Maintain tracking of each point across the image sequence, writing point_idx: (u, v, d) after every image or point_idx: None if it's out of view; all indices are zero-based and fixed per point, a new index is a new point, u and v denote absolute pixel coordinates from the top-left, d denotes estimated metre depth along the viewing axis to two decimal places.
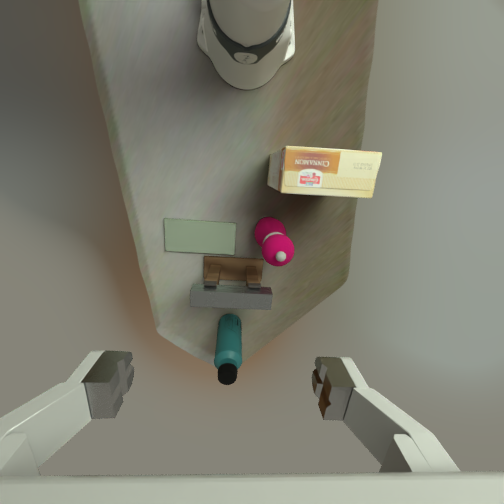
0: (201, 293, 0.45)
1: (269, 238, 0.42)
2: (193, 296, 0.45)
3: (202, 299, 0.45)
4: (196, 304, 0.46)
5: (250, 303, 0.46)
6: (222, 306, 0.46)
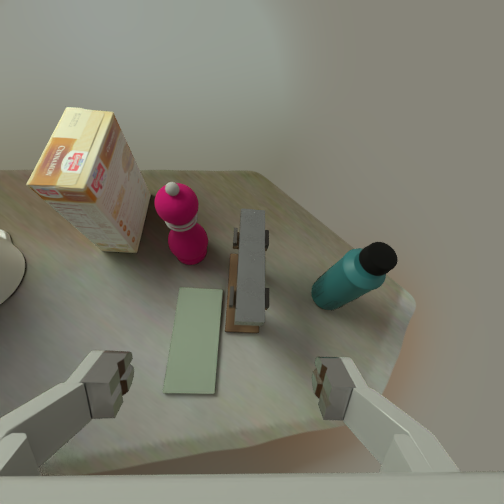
0: (240, 303, 0.28)
1: (157, 211, 0.32)
2: (245, 316, 0.28)
3: (250, 301, 0.28)
4: (261, 312, 0.28)
5: (255, 235, 0.32)
6: (262, 272, 0.30)
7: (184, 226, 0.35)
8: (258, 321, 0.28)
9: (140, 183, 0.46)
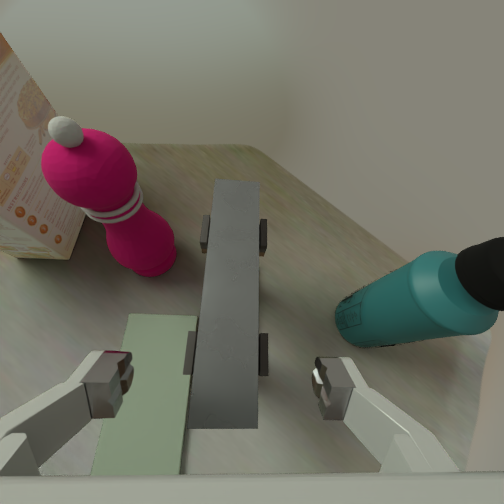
0: (202, 381, 0.12)
1: (48, 183, 0.16)
2: (212, 414, 0.12)
3: (225, 374, 0.13)
4: (249, 401, 0.12)
5: (240, 227, 0.17)
6: (253, 303, 0.14)
7: (112, 213, 0.19)
8: (242, 425, 0.12)
9: None
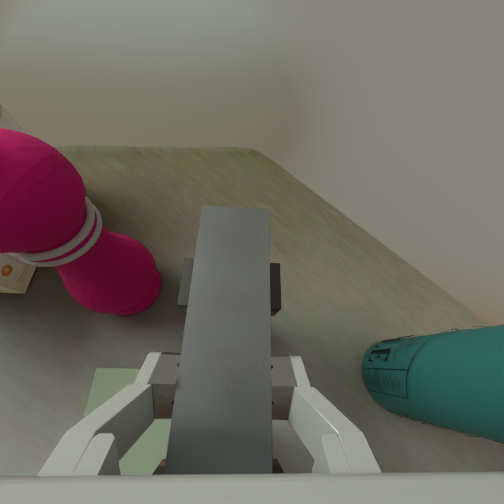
0: None
1: None
2: None
3: None
4: None
5: (240, 287, 0.10)
6: (263, 442, 0.08)
7: (49, 255, 0.13)
8: None
9: None
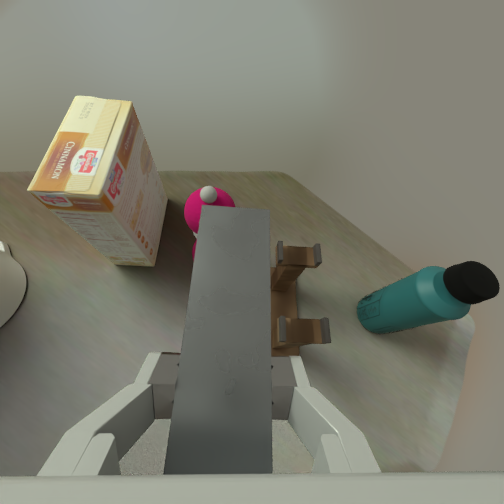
0: None
1: (188, 222, 0.26)
2: None
3: None
4: None
5: (240, 288, 0.10)
6: (263, 442, 0.08)
7: None
8: None
9: (158, 186, 0.40)
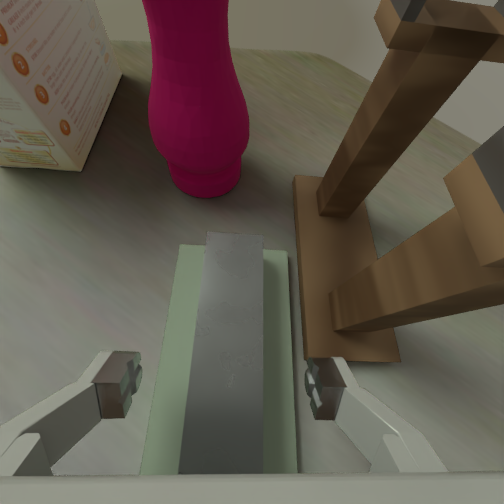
0: None
1: None
2: None
3: None
4: None
5: (238, 302, 0.13)
6: (256, 423, 0.10)
7: None
8: None
9: (89, 12, 0.20)
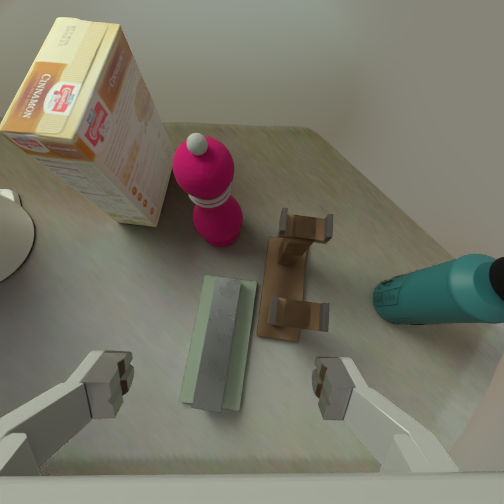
0: (199, 389, 0.28)
1: (176, 178, 0.22)
2: (202, 404, 0.28)
3: (209, 387, 0.28)
4: (218, 401, 0.28)
5: (226, 310, 0.31)
6: (227, 355, 0.29)
7: (213, 201, 0.25)
8: (214, 410, 0.28)
9: (162, 138, 0.36)
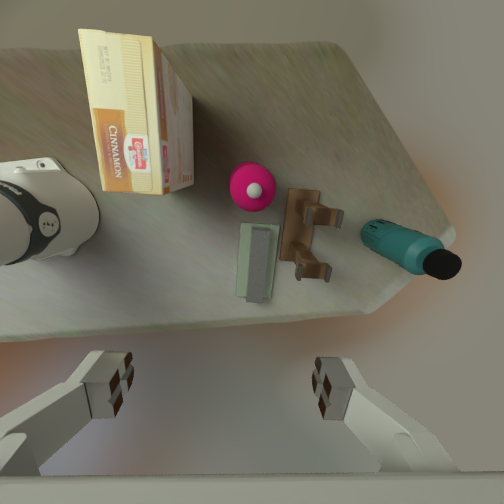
0: (249, 293, 0.49)
1: None
2: (252, 300, 0.50)
3: (255, 292, 0.49)
4: (260, 298, 0.50)
5: (261, 251, 0.46)
6: (263, 276, 0.48)
7: None
8: (259, 302, 0.50)
9: (185, 100, 0.35)
